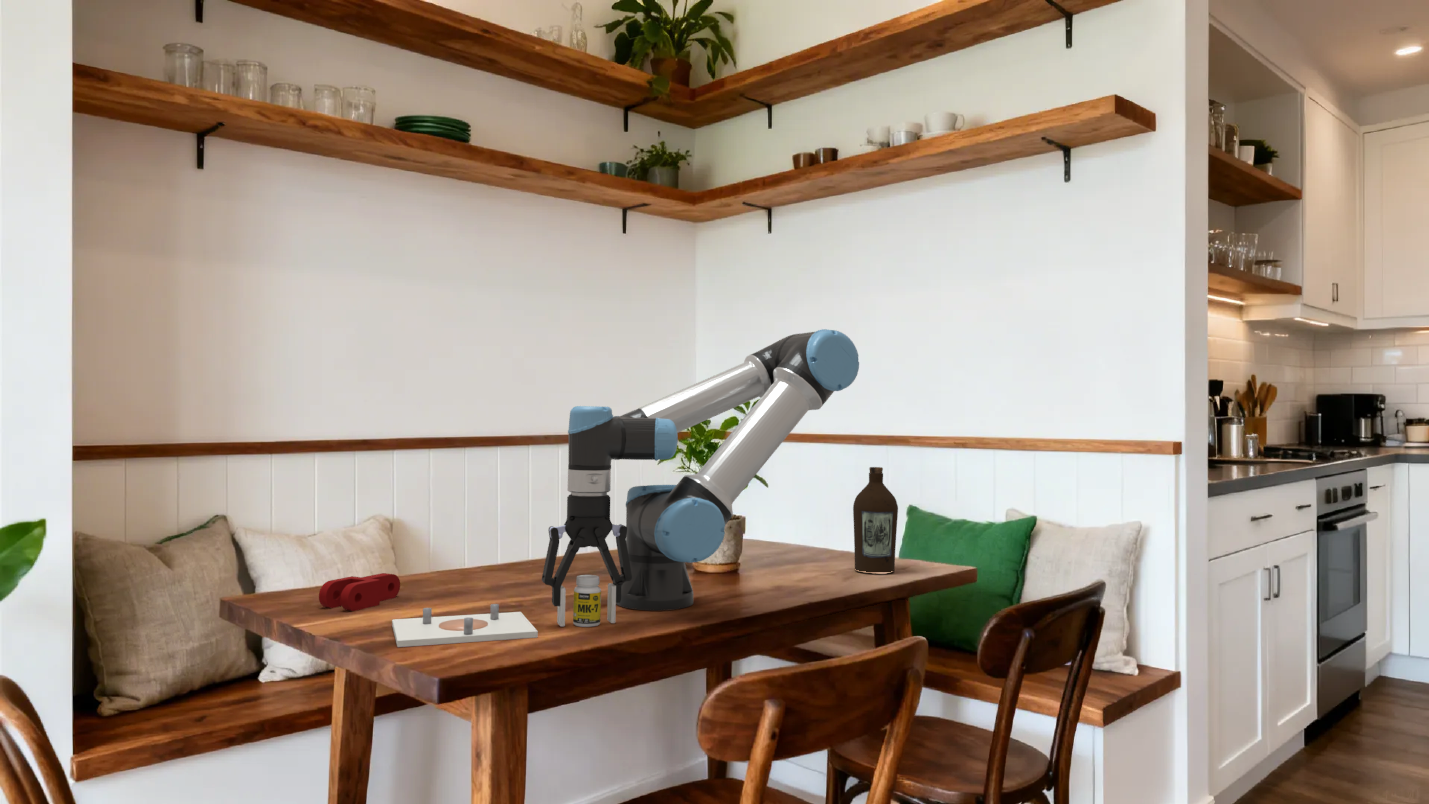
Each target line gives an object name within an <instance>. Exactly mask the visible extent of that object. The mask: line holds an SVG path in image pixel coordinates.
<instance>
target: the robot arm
mask: <svg viewBox="0 0 1429 804" xmlns="http://www.w3.org/2000/svg"><path fill="white" fill-rule="evenodd" d="M859 368H860V362H859V353H858V349H857V347H856V345H855V343H854V342H853V341H852V340H851V338H850V337H849V336H848V335H846V334H845V333H843V332H842V331H839V330H837V329H836V330H835V329H826V328H825V329H823V328H821V329H818V330H816V331H809V332H802V333H795V334H791V335H788V336H785V337H783V338H780V339H779V340H778V341H776V342H773V343H772V344H770V345H767V346H766V347H764V348H762V349H760V350H758V351H756V352H753V353H751V354H749V355H747V356H746V357H745V359H744V362H743V363H741V364H738V365H735V366H734V367H731V368H728V369H726V370H725V371H722V372H719V373H718V374H716V375H713V376H710V377H708V378H706V379H703V380H701V381H698V382H696V383H694V384H692V385H689V386H687V387H685V388H682V389H680V390H678V391H676V392H673V393H670V394H669V395H666V396H664V397H662V398H659V399H657V400H654V401H652V402H649V403H648V404H645V405H643V406H641V407H638V408H637V409H634V410H631V411H629V412H626V413H624V414H622V415H620V416H619V415H615V416H614V414H613V410H612V408H611V407H610V406H600V405H599V406H597V405H595V406H594V405H591V406H590V405H588V406H587V405H577V406H573V407H572V408H571V409H570V410H569V411H570V412H569V418H568V419H569V421H568V430H567V434H568V463H567V464H568V469H567V491H568V493H570V494H569V495H568V496H567V498H566V499H567V500H566V502H567V504H566V519H565V523H564V524H563V525H558V526H554V525H551V526H549V527H548V536H549V540H548V547H547V551H546V554H545V555H546V556H545V562H544V565H543V569H542V570H543V571H542V575H541V582H542V583H543V584H545V585H546V586H549V587H550V586H551V604H552V606H554V607H557V609H556V613H557V618H556V621H557V622H556V623H557V624H558V625H559V626H560V627H565V626H566V593H567V591H566V589H567V588H565V586H564V585H563V583H564V581H565V578H566V576H567V575H568V572H569V570H570V568H571V566H572V563H573V561H574V559H575V557H576V556H577V553H578V552H579V550H580V548H582V549H583V548H588V547H590V548H591V547H592V548H597V550H598V552H599V554H600V556H601V558H602V561H603V562H604V565H605V568H606V570H607V571H608V574H609V577H610V579H611V581H612V583H607V608H606V609H607V614H606V618H607V619H606V620H607V621H608V622H609V623H610V624H615V623H616V611H617V610H616V608H617V606H620V607H622V608H626V609H631V610H639V611H671V610H672V611H673V610H678V609H679V610H680V609H685V608H689V607H692V606H693V604H694V589H693V587H692V583H691V579H690V576H689V573H688V569H687V566H686V563H691V564H692V563H698V562H702V561H704V560H706V559H708V558H710V557H711V556H712V555H713V554H715V553H716V552H717V551H718V549H719V548H720V547H721V545H722V543H723V540H724V539H725V538H724V537H725V534H726V532H725V531H726V530H725V528H726V525H727V524H728V522H729V521H730V520H731V519H732V517H733V515H734V514H733V513H734V512H733V503H734V502H735V500H736V499H737V498H738V497H739V496H740V494H741V493H742V492H743V491H744V490H745V488H747V486H748V485H749V484H750V483H751V481H752V480H753V479H754V477H755V476H756V475H757V474H758V473H759V471H761V469H762V467H764V465H765V464H766V463H767V461H769V459H770V458H771V456H772V455H773V454H774V453H775V452H776V450H777V449H778V448H779V447H780V446H781V445H782V443H784V440H786V439H787V437H788V436H789V435H790V433H792V431H793V430H794V429H795V427H796V426H797V425H798V424H799V422H801V420H802V419H803V418H804V416H805V415H806V414H807V413H808V411H816V410H820V409H821V408H822V407H823V406H824V405H825V403H826V402H827V401H828V400H829V398H830V397H832V395H833V394H834V393H835V392H840V391H843V390H844V389H847V388H849V387H850V386H851V385H852V384H853V383H854V382H855V380H856V379H857V376H858V374H859V373H858V372H859V370H860V369H859ZM757 398H759V400H757V402H756V403H755V404H754V405H753V406H752V408H751V409H750V410H749V411H748V412H747V414H746V415H745V416H744V417H743V419H742V420H741V421H740V422H739V423H738V424H737V426H735V428H734V429H733V430H732V431H731V433H730V434H729V435H728V436H727V437H726V439H725V440H724V441H723V442H722V443H721V444H720V446H719V447H718V448H717V449H716V450H715V452H714V453H713V454H712V455H711V456H710V458H709V459H708V460H706V463H704V465H703V466H701V469H700V470H699V471H698V472H697V473H695V474H687V475H686V474H685V475H684V476H683V477H682V478H681V479H680V480H679V482H678V483H677V484H653V485H652V484H651V485H650V484H649V485H636V486H632V487H629V489H628V490H627V494H626V495H627V496H626V502H625V511H626V514H625V515H626V516H625V517H626V519H625V523H626V525H624V524H622V523H619V524H613V522H612V521H611V496H610V494H608V493H609V492H610V491H611V481H612V480H611V474H612V473H611V469H612V460H613V461H614V460H615V461H619V460H632V461H633V460H635V461H636V460H637V461H639V460H640V461H642V460H643V461H645V460H646V461H647V460H648V461H652V460H653V461H656V462H657V461H658V460H671V458H673V457H674V456H675V454H676V452H677V448H678V441H679V440H678V438H679V437H678V433H680V432H682V431H685V430H687V429H689V428H691V427H694V426H696V425H699V424H701V423H702V422H704V421H707V420H710V419H712V418H713V417H717V416H718V415H720V414H723V413H725V412H729V411H730V410H732V409H734V408H736V407H739V406H742V405H743V404H745V403H748V402H750V401H752V400H755V399H757ZM611 532H612V535H613V537H615V542H616V543H615V544H616V549H617V555H618V561H619V568H620V573H621V574H620V573H619V571H618V568H617V566H616V563H615V561H614V558H613V556H612V554H611V552H610V549H609V546H608V543H607V541H606V539H607V537H608V536H609V534H610V533H611ZM564 533H566V534H567V536H568V538H569V539H570V540H569V542H568V544H567V547H566V549H565V552H564V554H563V556H562V559H561V561H560V562H559V566H558V567H557V570H556V571H555V574H554V570H555V565H556V561H557V555H558V553H559V552H558V551H559V547H560V540H561V539H562V538H563V535H564ZM553 575H554V576H553Z"/></svg>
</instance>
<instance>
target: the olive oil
mask: <svg viewBox="0 0 1429 804" xmlns="http://www.w3.org/2000/svg"><path fill="white" fill-rule="evenodd" d="M868 470H869V472H868V483H867V484H866V486H865V487H864V488H863V489H862V490H861V491H860V492H859V493H858V494H857V495H856V497H855V499H854V501H853V507H852V511H853V512H852V514H853V515H852V517H853V537H854V538H853V540H854V541H853V542H854V543H853V544H854V545H853V546H854V570H855V569H856V570H859V571H866V572H891V571H894V572H895V567H896V565H895V563H896V544H897V529H898V527H897V526H898V516H899V515H898V513H899V505H898V502H897V499H896V497H895V496H894V495H893V493H892V492H891V491H890V490H889V489H888V487H886V485H885V484H884V473H883V470H884V468H883V467H881V466H870V467H869V468H868Z"/></svg>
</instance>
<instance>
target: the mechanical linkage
mask: <svg viewBox="0 0 1429 804" xmlns="http://www.w3.org/2000/svg"><path fill="white" fill-rule="evenodd" d="M400 590H401V580H400V578H399V576H398V575H397V574H395V573H393V574H392V573H386V572H381V573H377V574H372V575H367V576H362V577H360V576H354V575H353V576H346V577H342V578H337V579H331V580H328V581H326V582H325V583H324V584H322V585H321V587H320V589H319V594H318V600H319V603H320V605H321V606H322V607H323V608H328V609H335V608H339V607H342V608H343V609H344V610H345V611H351V612H355V611H361V610H365V609H369V608H372V607H377V606H380V605H381V604H380V603H381V602H383V601H387V600H390V599H395V598H396V597H397V596H398V595H399V593H400Z"/></svg>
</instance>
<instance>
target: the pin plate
mask: <svg viewBox="0 0 1429 804" xmlns="http://www.w3.org/2000/svg"><path fill="white" fill-rule="evenodd" d="M499 607H500V604H499V603H491V604H490V610H489V611H490V613H475V614H461V615H460V614H459V615H458V614H457V615H446V616H445V615H444V616H442V615H441V616H432V613H433V612H432V609H433V608H432V607H423V608H422V617H412V618H410V617H409V618H396V619H392V620H391V627H392V631H393V634H394V635H393V636H394V639H395V643H396V644H395V645H396V647H397V648H404V647H405V648H407V647H420V646H432V645H433V646H435V645H445V644H446V645H447V644H450V645H451V644H459V643H460V644H463V643H477V642H478V643H479V642H490V641H492V642H493V641H505V640H506V641H508V640H519V639H520V640H521V639H535V638H538V636H539V635H538V634H539V633H538V632H539V631H538V630H537V628H535V626H534V625H533V624H532V623H531V622H530V620H529V619H527V617H526V616H525V615H524V614H523V613H522V611H513V612H500V611H499V610H500V608H499Z"/></svg>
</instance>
